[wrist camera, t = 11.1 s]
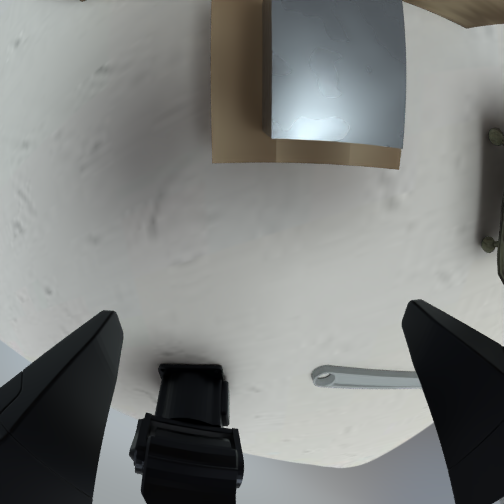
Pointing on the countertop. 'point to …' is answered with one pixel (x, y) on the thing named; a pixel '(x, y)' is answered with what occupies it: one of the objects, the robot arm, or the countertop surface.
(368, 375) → the adjustable wrench
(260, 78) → the wooden desk organizer
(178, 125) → the countertop surface
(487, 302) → the countertop surface
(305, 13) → the grey rectangular block
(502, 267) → the tabletop clock
